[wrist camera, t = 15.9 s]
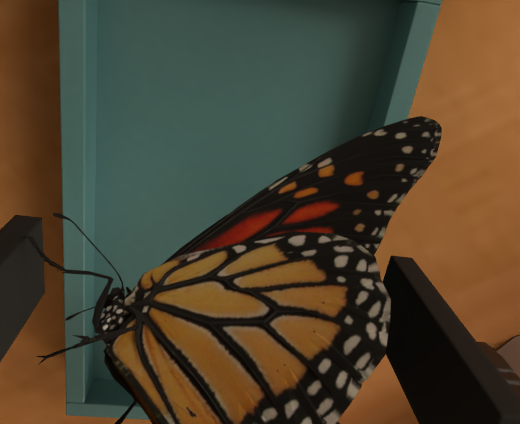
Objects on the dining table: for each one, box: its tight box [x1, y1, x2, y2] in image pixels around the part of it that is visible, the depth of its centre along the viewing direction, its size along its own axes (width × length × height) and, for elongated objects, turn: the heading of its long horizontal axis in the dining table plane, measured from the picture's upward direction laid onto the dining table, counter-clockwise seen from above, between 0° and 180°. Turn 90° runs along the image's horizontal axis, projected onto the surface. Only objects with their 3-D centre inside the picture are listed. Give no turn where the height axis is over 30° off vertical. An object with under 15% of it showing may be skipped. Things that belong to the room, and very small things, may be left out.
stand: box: [58, 0, 442, 420], centre depth 18 cm, size 20×12×2 cm, turn 171°
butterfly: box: [19, 116, 441, 424], centre depth 13 cm, size 12×10×10 cm
